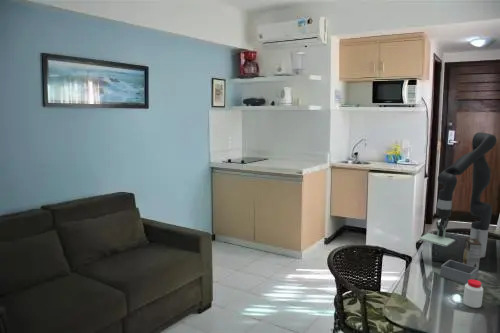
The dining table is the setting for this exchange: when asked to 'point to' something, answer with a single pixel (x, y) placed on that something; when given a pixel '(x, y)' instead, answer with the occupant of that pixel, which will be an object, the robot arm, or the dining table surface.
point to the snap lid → (437, 239)
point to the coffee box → (472, 252)
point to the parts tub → (458, 271)
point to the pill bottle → (473, 294)
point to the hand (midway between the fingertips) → (441, 235)
